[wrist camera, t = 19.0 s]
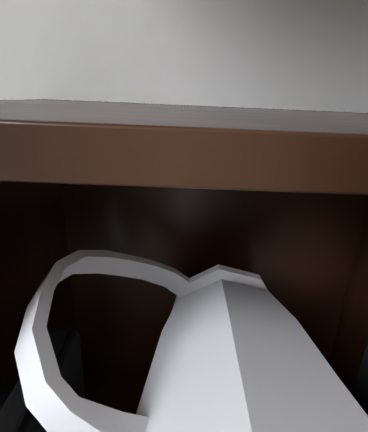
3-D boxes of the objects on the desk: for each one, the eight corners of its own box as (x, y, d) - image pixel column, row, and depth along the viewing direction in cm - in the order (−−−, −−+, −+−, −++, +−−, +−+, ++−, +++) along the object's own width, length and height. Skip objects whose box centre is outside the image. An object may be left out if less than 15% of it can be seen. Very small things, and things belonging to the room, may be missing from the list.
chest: (70, 368, 18) (-46, 653, 9) (41, 99, 13) (-290, 107, 4) (330, 375, 18) (480, 656, 9) (397, 114, 13) (872, 155, 4)
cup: (231, 398, 15) (273, 705, 8) (42, 284, 13) (-160, 551, 5) (346, 299, 13) (561, 585, 5) (143, 144, 11) (43, 262, 3)
